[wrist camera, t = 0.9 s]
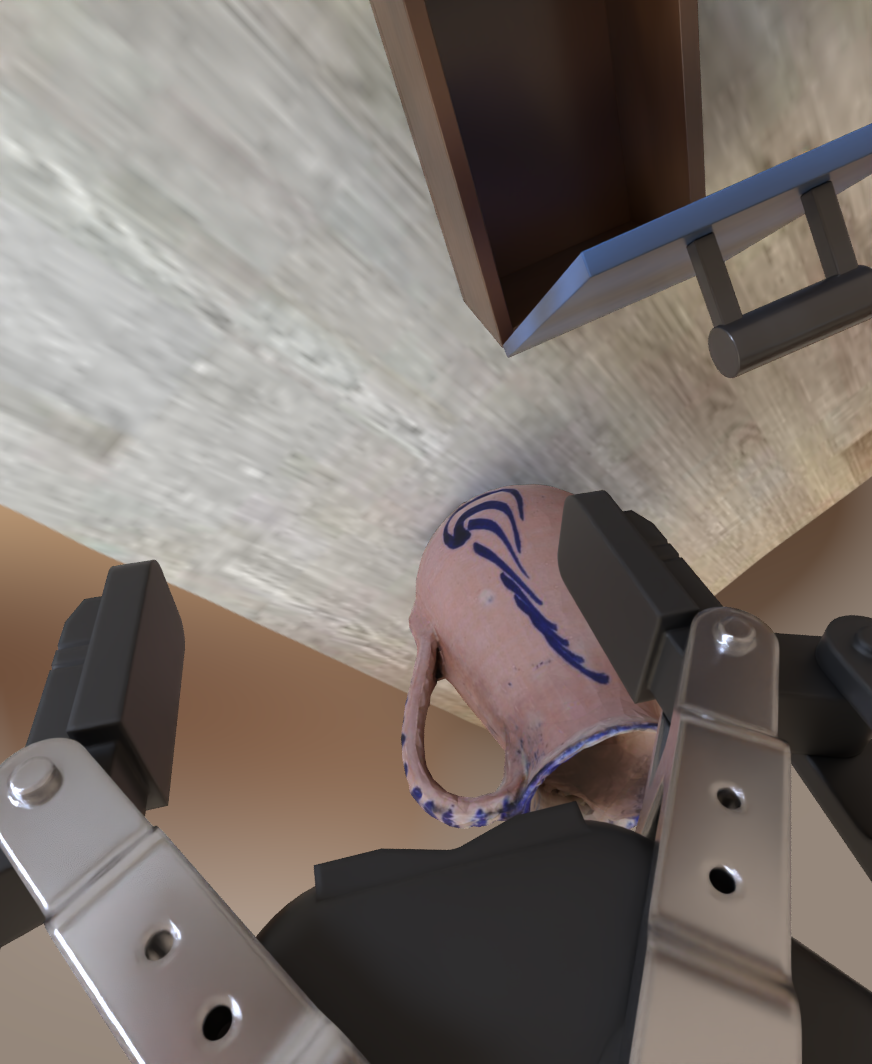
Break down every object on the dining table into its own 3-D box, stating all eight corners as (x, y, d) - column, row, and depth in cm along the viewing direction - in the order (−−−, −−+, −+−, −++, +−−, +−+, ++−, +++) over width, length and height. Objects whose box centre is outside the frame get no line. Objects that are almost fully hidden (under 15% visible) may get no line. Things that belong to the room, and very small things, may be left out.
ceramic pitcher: (591, 573, 62) (743, 810, 43) (389, 638, 61) (453, 910, 42) (583, 424, 51) (785, 654, 32) (336, 500, 50) (389, 786, 31)
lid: (580, 251, 18) (644, 423, 19) (994, 68, 18) (1043, 251, 19) (502, 344, 36) (537, 432, 36) (710, 253, 35) (741, 344, 36)
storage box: (367, -5, 32) (397, -18, 25) (600, -114, 31) (691, -154, 25) (464, 302, 42) (502, 348, 36) (638, 225, 42) (708, 258, 36)
